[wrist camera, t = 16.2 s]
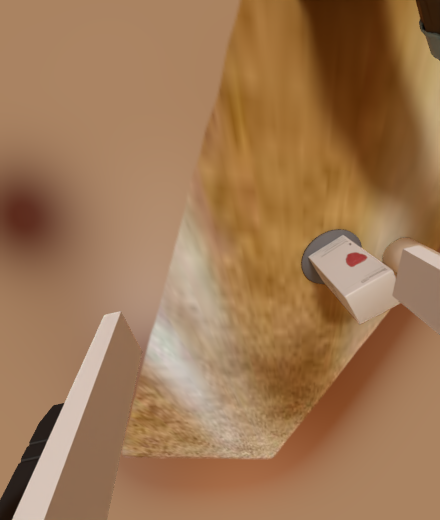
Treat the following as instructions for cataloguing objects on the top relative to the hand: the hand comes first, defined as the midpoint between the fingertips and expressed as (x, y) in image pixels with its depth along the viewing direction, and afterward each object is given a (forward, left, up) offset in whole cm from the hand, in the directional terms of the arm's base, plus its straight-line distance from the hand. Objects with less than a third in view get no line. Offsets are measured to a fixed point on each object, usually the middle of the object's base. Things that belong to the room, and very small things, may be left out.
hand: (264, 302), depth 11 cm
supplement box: (+24, +24, -36) cm, 50 cm away
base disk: (+24, +24, -37) cm, 50 cm away
